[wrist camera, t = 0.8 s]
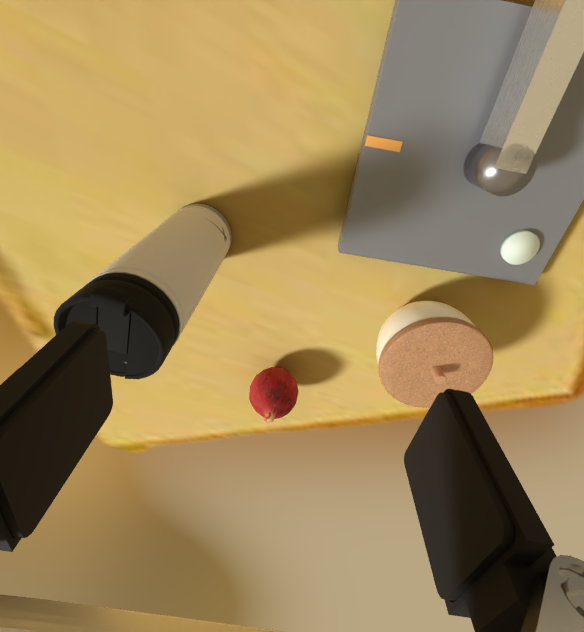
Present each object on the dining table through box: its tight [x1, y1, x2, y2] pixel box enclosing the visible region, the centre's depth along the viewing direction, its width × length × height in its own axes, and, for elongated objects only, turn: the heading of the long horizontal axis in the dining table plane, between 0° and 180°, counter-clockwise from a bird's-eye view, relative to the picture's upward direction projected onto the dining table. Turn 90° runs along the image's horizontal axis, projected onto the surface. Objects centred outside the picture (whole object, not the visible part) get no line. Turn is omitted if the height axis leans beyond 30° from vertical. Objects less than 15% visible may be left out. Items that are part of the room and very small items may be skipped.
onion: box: [249, 367, 298, 423], centre depth 42 cm, size 6×6×8 cm
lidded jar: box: [376, 301, 493, 408], centre depth 37 cm, size 11×11×9 cm
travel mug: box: [54, 203, 232, 379], centre depth 28 cm, size 6×7×20 cm
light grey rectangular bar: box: [464, 0, 584, 197], centre depth 25 cm, size 15×4×5 cm, turn 171°
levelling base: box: [338, 0, 584, 285], centre depth 30 cm, size 20×20×3 cm
